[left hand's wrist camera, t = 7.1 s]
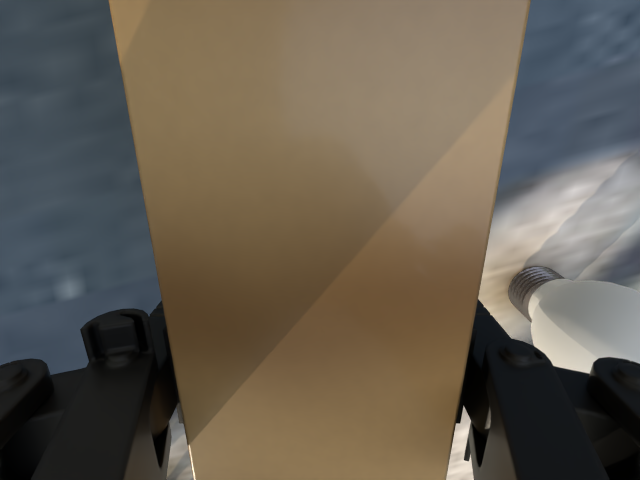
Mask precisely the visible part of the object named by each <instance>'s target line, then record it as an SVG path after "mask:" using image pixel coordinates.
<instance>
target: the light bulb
mask: <svg viewBox="0 0 640 480" xmlns="http://www.w3.org/2000/svg"><path fill="white" fill-rule="evenodd" d="M508 293H509V299H510V301H511V302H512V304H513V305H514V306H515V307H516V308H517V309H518V310H519V311H520V312H521V313H522V314H523V315H524V316H525V317H526V318H527V319H528V320H529V321H530V322H531V323H532V324H531V332H532V339H533V344H534V346H535V347H536V348H538V349H539V350H540V351H542V352H543V353H545V354H546V356H547V357H548V358H549V359H550V361H551V362H552V364H553V366H556V367H560V368H565V369H570V370H575V371H580V372H585V373H590V371H591V368H592V365H593V362H594V361H596V360H597V359H598V358H604V357H613V358H621V359H627V360H630V361H634V362H637V363H639V364H640V292H638V291H636V290H634V289H631V288H628V287H624V286H621V285H617V284H614V283H610V282H602V281H591V280H587V281H577V282H574V281H573V280H569V279H565V278H563V277H562V276H561V275H559V274H558V273H556V272H555V271H553V270H551V269H549V268H546V267H532V268H528V269H526V270H524V271H522V272H520V273H519V274H517V275H516V276H515V277H514V279H513V280H512V282H511V283H510V286H509V290H508Z"/></svg>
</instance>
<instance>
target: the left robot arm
mask: <svg viewBox="0 0 640 480" xmlns="http://www.w3.org/2000/svg"><path fill="white" fill-rule="evenodd" d="M80 330H81V334H82V338H83V341H84V345H85V348H86V352H87V356H88V359H89V363H88V365H87V367H86V368H82V369H78V370H73V371H68V372H63V373H58V374H53V375H50V372H49V369H48V366H47V364H46V363H45V362H44V361H42V360H39V359H24V360H17V361H13V362H11V363H6V364H3V365H1V366H0V480H166V476H167V468H168V461H169V453H170V445H171V429H170V424H169V420H170V418H171V416H172V414H173V412H174V410H175V408H176V407H177V412H178V417H179V423H184V422H183V416H182V410H181V405H180V399H179V394H178V388H177V382H176V377H175V371H174V365H173V360H172V354H171V348H170V343H169V337H168V332H167V326H166V320H165V315H164V309H163V303H162V301H161V302H160V303H159V304H158V306H157V307H156V309H154V310H153V312H152V313H151V314H150V317H148V314H147V313H146V312H144V311H143V310H139V309H120V310H115V311H111V312H108V313H105V314H102V315H100V316H97V317H96V318H94V319H92V320H91V321H89V322H87V323H86V324H85V325H84V326H83V327H82V328H81V329H80ZM463 405H464V407H465V409H466V411H467V413H468V415H469V417H470V419H471V424H470V429H469V434H468V439H467V444H466V450H465V456H464V460H465V461H469V458H470V453H471V460H472V468H473V475H474V480H640V364H639V363H637V362H634V361H630V360H627V359H621V358H613V357H604V358H598V359H597V360H596V361H594V362H593V365H592V368H591V371H590V373H585V372H580V371H575V370H570V369H565V368H560V367H556V366H553V364H552V362H551V361H550V359H549V358H548V357H547V356H546V354H545V353H543V352H542V351H540V350H539V349H538V348H536V347H534V346H532V345H530V344H528V343H525V342H523V341H519V340H515V339H511V338H510V337H509V335H508V334H507V333H506V332H505V331H504V329H503V328H502V327H501V326H500V325H499V323H498V322H497V321H496V320H495V319H494V317H493V316H492V315H490V313H489V312H488V310H487V309H486V308H485V307H483V304H482V303H481V302H480V301H479V300H478V301H477V307H476V312H475V318H474V324H473V329H472V335H471V340H470V346H469V352H468V357H467V363H466V369H465V374H464V380H463V386H462V391H461V397H460V403H459V408H458V414H457V420H456V423H460V422H461V416H462V411H463Z"/></svg>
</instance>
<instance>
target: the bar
mask: <svg viewBox="0 0 640 480" xmlns="http://www.w3.org/2000/svg"><path fill="white" fill-rule="evenodd" d="M530 2H531V0H109V5H110V10H111V16H112V22H113V27H114V33H115V38H116V44H117V50H118V55H119V61H120V67H121V72H122V78H123V84H124V89H125V95H126V100H127V106H128V112H129V117H130V123H131V129H132V134H133V140H134V146H135V151H136V157H137V162H138V168H139V174H140V179H141V185H142V191H143V196H144V202H145V208H146V213H147V219H148V224H149V230H150V236H151V241H152V247H153V253H154V258H155V264H156V270H157V275H158V281H159V286H160V292H161V298H162V303H163V309H164V315H165V320H166V326H167V332H168V337H169V343H170V348H171V354H172V360H173V365H174V371H175V377H176V382H177V388H178V394H179V399H180V405H181V410H182V416H183V422H184V427H185V433H186V439H187V444H188V450H189V456H190V461H191V467H192V472H193V478H194V480H446V476H447V470H448V465H449V459H450V453H451V448H452V442H453V436H454V431H455V425H456V420H457V414H458V408H459V403H460V397H461V391H462V386H463V380H464V374H465V369H466V363H467V357H468V352H469V346H470V340H471V335H472V329H473V324H474V318H475V312H476V307H477V301H478V295H479V290H480V284H481V278H482V273H483V267H484V261H485V256H486V250H487V244H488V239H489V233H490V228H491V222H492V216H493V211H494V205H495V199H496V194H497V188H498V182H499V177H500V171H501V165H502V160H503V154H504V148H505V143H506V137H507V132H508V126H509V120H510V115H511V109H512V103H513V98H514V92H515V86H516V81H517V75H518V69H519V64H520V58H521V52H522V47H523V41H524V36H525V30H526V24H527V19H528V13H529V7H530Z"/></svg>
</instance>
